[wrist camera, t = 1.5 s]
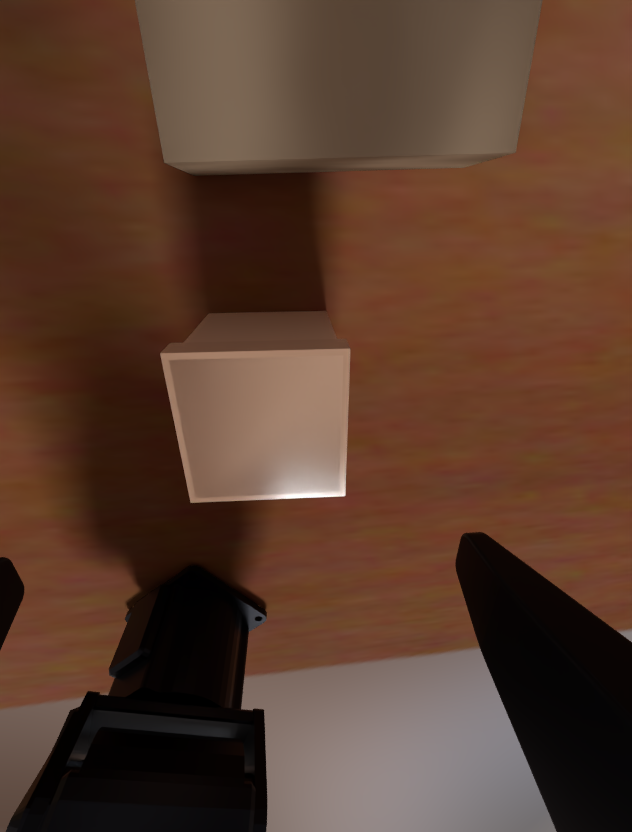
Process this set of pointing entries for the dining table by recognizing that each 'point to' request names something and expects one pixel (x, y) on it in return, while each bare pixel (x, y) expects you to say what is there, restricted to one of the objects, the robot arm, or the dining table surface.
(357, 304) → the dining table surface
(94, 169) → the dining table surface
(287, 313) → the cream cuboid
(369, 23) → the beige block
